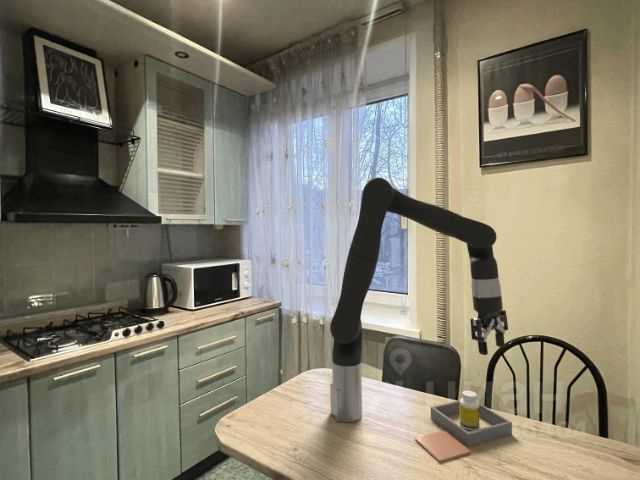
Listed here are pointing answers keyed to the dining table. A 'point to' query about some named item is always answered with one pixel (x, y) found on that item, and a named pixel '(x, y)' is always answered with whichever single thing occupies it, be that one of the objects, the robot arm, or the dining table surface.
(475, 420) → the supplement bottle
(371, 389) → the dining table surface
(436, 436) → the tile
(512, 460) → the dining table surface
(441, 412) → the bin
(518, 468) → the dining table surface
